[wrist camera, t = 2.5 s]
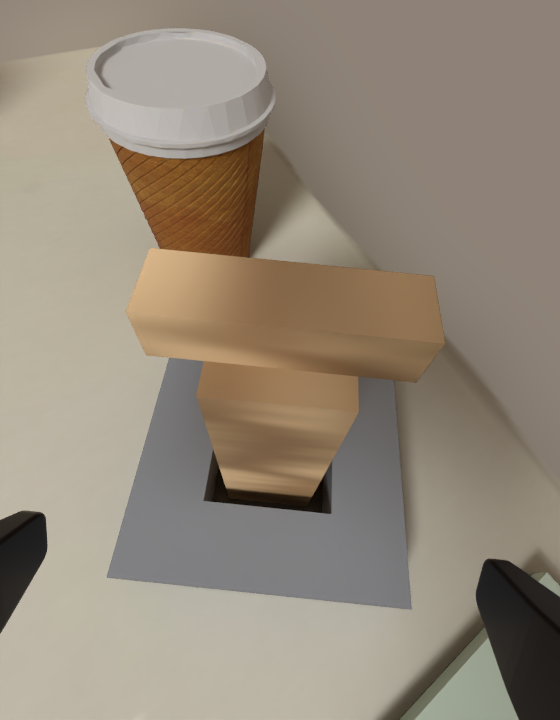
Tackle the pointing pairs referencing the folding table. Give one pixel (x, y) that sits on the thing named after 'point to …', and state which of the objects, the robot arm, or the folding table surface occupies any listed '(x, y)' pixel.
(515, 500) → the folding table surface
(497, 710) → the rubber pad
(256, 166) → the disposable coffee cup
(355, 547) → the gray square ring
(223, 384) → the t key
